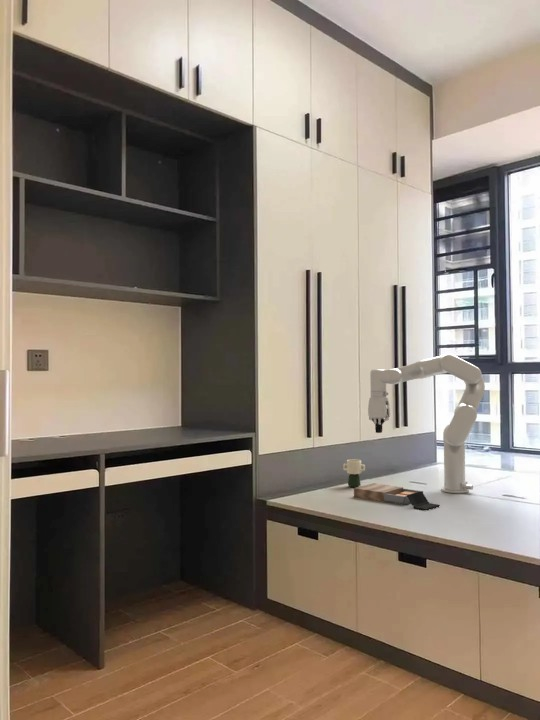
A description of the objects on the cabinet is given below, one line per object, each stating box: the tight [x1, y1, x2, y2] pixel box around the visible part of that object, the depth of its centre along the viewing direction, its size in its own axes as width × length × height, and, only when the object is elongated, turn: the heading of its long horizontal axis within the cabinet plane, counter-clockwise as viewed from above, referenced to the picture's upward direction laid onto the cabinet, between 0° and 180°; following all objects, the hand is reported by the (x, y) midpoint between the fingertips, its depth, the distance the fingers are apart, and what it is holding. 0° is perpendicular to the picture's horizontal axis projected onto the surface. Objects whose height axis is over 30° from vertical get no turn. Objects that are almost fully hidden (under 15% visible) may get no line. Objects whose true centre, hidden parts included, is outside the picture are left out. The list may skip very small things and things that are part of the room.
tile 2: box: [400, 491, 414, 495], centre depth 275 cm, size 5×5×2 cm
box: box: [383, 487, 424, 506], centre depth 272 cm, size 10×16×4 cm, turn 137°
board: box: [353, 482, 404, 502], centre depth 281 cm, size 16×16×4 cm
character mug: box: [342, 458, 366, 488], centre depth 305 cm, size 11×7×13 cm, turn 71°
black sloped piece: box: [407, 490, 441, 511], centre depth 259 cm, size 12×7×10 cm
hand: (378, 432), depth 300 cm, fingers closed
